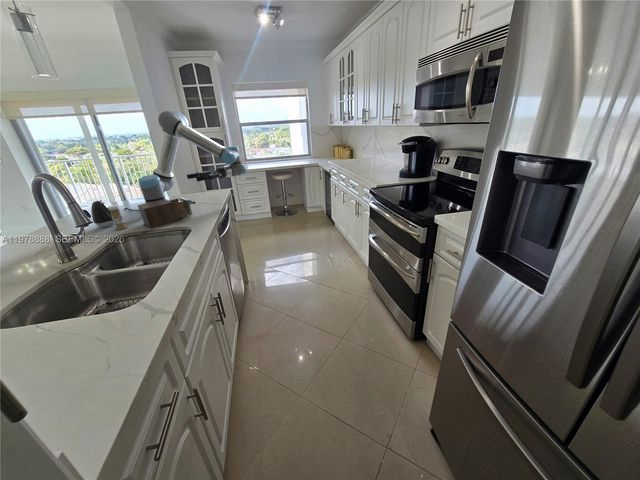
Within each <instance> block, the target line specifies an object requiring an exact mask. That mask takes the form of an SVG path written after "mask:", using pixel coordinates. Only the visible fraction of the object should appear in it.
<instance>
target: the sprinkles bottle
mask: <svg viewBox="0 0 640 480" xmlns="http://www.w3.org/2000/svg"><path fill="white" fill-rule="evenodd" d="M107 206H108V205H107ZM108 210H109V211H110V213H111V216H112V219H113V221H114V225H115V228H116V230H117V231H120V230H124V229H126V228H127V226H126V223H125V221H124V218H123V216H122V213H121V211H120V207H119V206H118V204H112V205H109V206H108Z"/></svg>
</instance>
